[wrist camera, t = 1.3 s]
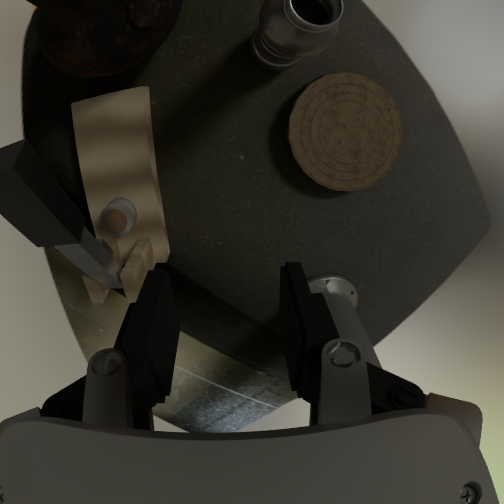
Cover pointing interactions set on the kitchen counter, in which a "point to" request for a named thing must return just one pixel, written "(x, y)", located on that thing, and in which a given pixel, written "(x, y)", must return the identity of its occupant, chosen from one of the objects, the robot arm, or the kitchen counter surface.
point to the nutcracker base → (121, 184)
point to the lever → (51, 214)
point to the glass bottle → (102, 33)
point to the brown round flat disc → (344, 131)
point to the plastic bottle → (294, 30)
